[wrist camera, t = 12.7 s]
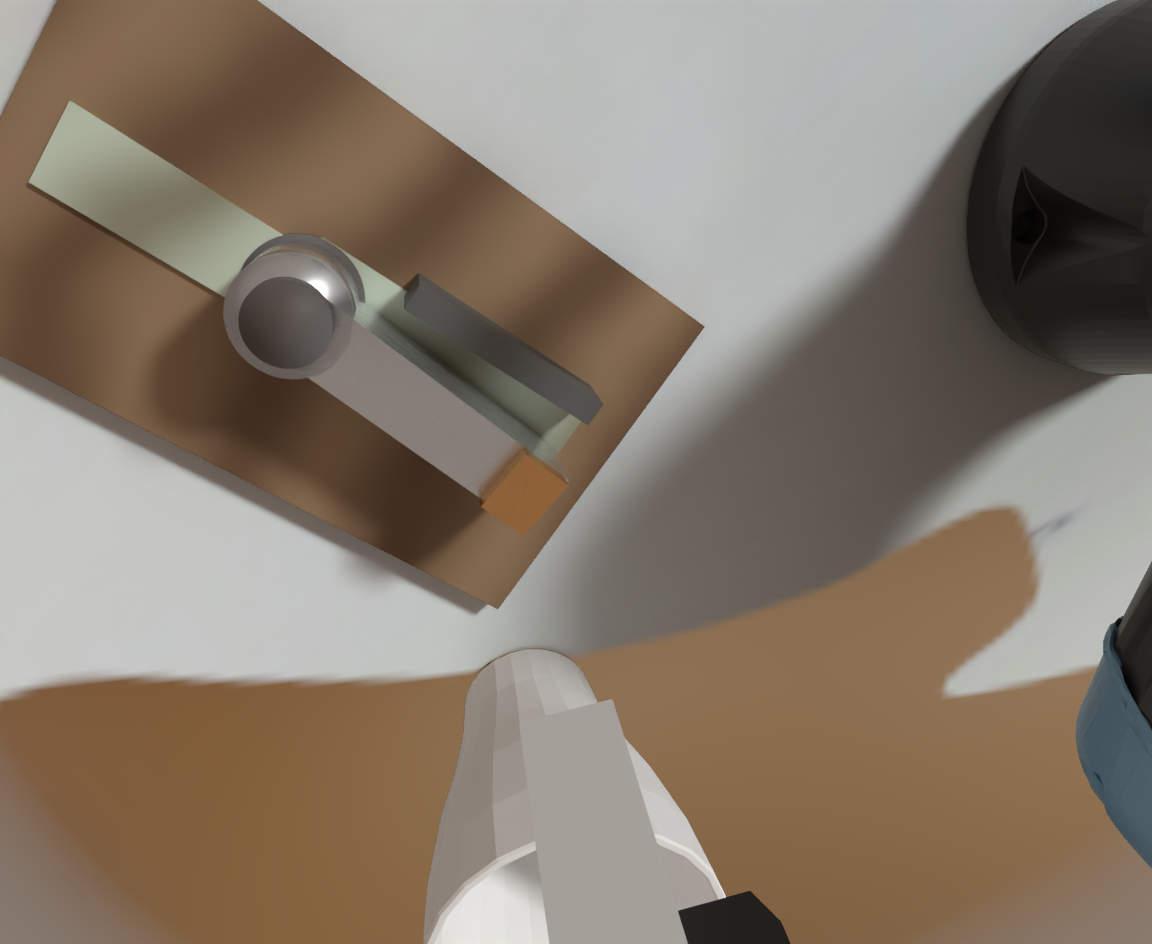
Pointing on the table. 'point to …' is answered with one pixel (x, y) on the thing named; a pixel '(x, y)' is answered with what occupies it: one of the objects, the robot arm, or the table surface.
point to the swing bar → (409, 391)
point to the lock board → (320, 186)
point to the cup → (526, 813)
